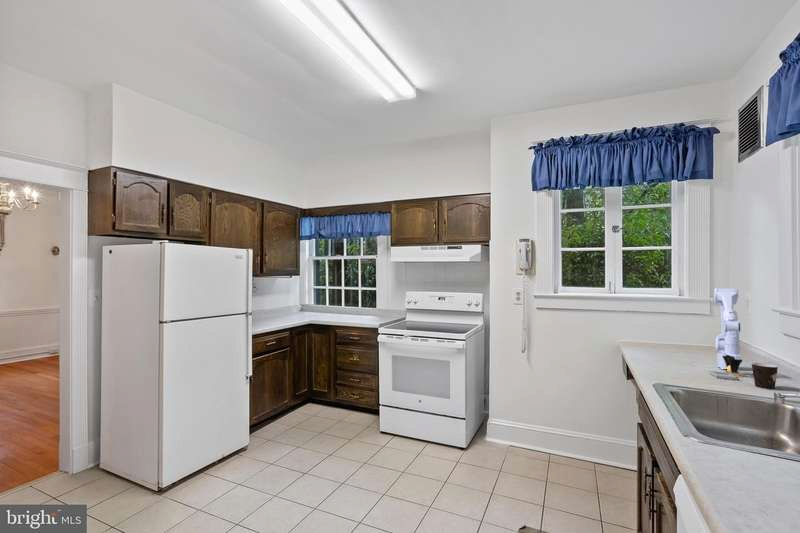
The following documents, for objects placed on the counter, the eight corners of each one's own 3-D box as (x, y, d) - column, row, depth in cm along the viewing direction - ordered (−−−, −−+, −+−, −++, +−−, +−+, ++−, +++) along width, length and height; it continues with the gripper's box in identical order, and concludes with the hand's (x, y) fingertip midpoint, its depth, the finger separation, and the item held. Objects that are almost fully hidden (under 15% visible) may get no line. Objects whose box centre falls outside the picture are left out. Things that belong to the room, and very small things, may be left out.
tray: (710, 373, 195) (709, 371, 195) (729, 375, 192) (729, 372, 192) (717, 378, 186) (717, 375, 186) (737, 380, 183) (737, 377, 183)
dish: (718, 372, 199) (718, 369, 199) (739, 374, 196) (739, 371, 196) (725, 375, 192) (725, 373, 192) (746, 377, 188) (746, 374, 188)
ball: (725, 372, 197) (725, 363, 197) (736, 373, 195) (735, 364, 195) (728, 374, 193) (728, 365, 193) (739, 375, 191) (739, 366, 191)
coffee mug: (766, 385, 175) (766, 363, 175) (783, 390, 167) (783, 367, 167) (739, 383, 176) (739, 362, 177) (755, 389, 168) (754, 366, 168)
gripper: (716, 341, 202) (717, 367, 202) (727, 346, 189) (727, 373, 189) (733, 342, 200) (734, 369, 199) (745, 347, 186) (746, 375, 186)
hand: (732, 371), depth 194 cm, fingers closed on ball, 4 cm apart
